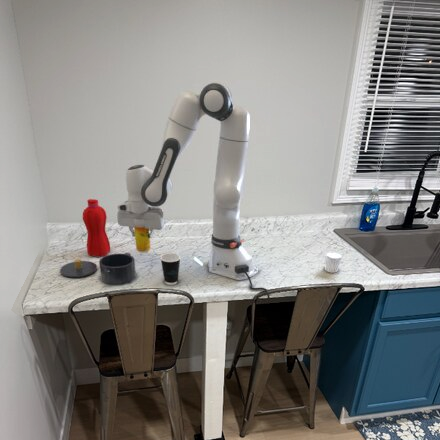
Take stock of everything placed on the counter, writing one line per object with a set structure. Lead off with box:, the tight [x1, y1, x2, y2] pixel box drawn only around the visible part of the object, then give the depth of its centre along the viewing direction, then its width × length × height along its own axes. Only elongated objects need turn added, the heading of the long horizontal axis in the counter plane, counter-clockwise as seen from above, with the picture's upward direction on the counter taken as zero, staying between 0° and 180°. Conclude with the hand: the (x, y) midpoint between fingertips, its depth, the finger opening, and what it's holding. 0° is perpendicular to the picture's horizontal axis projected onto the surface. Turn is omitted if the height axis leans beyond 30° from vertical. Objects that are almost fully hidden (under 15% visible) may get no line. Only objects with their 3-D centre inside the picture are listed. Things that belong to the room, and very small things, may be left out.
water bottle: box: [82, 198, 111, 258], centre depth 179 cm, size 9×11×25 cm
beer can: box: [133, 218, 151, 254], centre depth 173 cm, size 6×6×15 cm
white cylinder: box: [324, 251, 343, 273], centre depth 175 cm, size 7×7×7 cm
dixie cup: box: [159, 252, 181, 286], centre depth 159 cm, size 8×8×11 cm
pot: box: [98, 252, 137, 286], centre depth 163 cm, size 14×19×8 cm
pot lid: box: [59, 258, 98, 278], centre depth 167 cm, size 15×15×5 cm
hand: (142, 237), depth 173 cm, fingers closed on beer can, 6 cm apart
